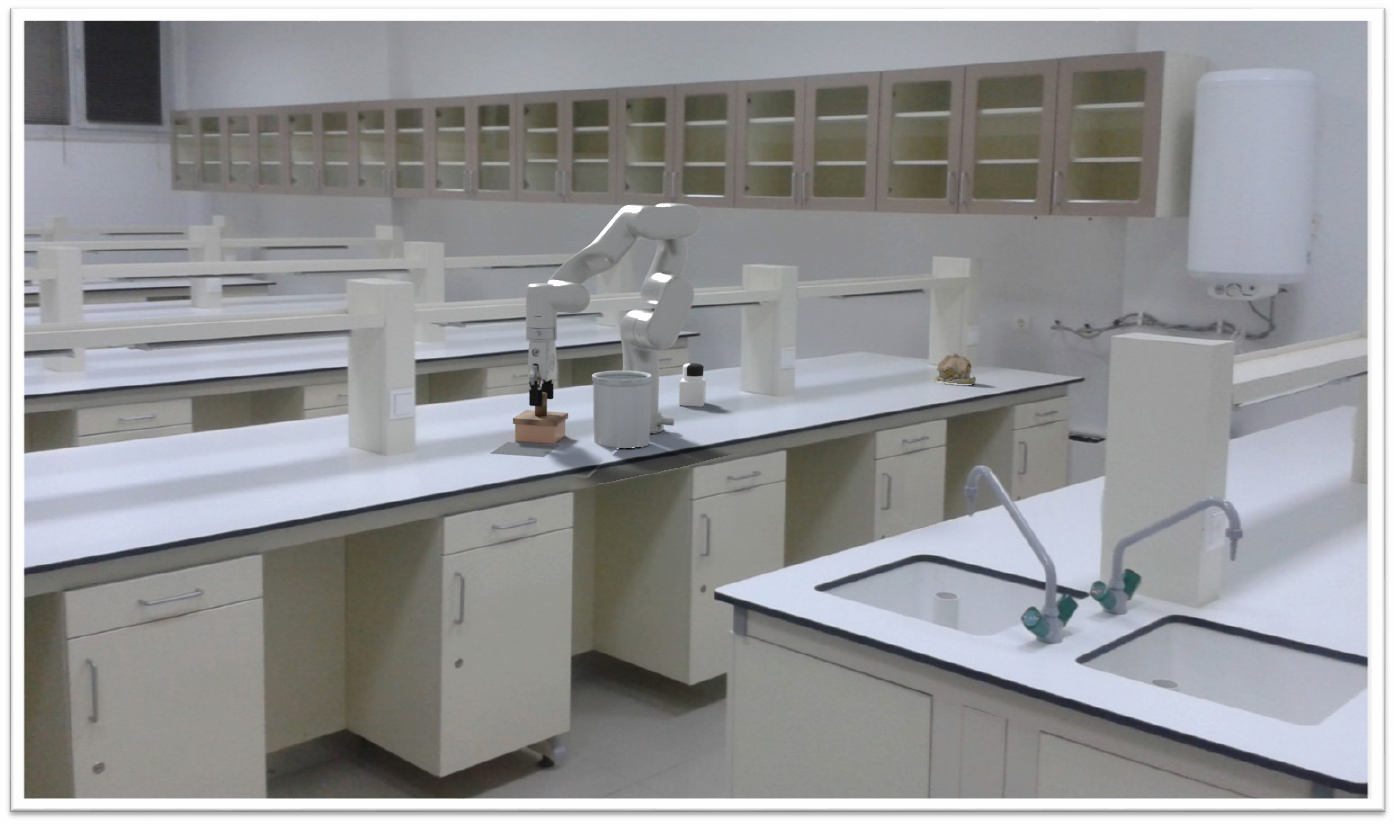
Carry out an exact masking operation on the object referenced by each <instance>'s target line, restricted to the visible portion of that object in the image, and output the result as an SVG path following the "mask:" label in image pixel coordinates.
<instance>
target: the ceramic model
mask: <svg viewBox="0 0 1394 824" xmlns="http://www.w3.org/2000/svg"><path fill="white" fill-rule="evenodd" d="M936 366H937V367H936V371H938V375H937V376H935V378H934V381H935V380H937V381H942V382H948V383H957V384H974V383H976V381H977V380H976V377H975V376H972V377H971V373H972V364H971V361H970V360H968V358H966V357H965V356H962V355H959V354H958V353H953V355H950V354H948V355H947V354H946V355H945V356H944V357H943V359H941V360H940V361H939V362H938V364H937V365H936ZM974 385H975V384H974Z"/></svg>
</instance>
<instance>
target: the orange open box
mask: <svg viewBox="0 0 1394 824" xmlns="http://www.w3.org/2000/svg"><path fill="white" fill-rule="evenodd" d="M514 436H515V437H514V441H515V442H517V443H532V444H548V445H556V443H557V442H559V441H560V440H561V439H563V438H565V437H566V420H565V421H563V422H562V423H561V424H559V425H558V426H556V427H555V426H539V425H523V424H514Z"/></svg>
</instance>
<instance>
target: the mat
mask: <svg viewBox="0 0 1394 824" xmlns="http://www.w3.org/2000/svg"><path fill="white" fill-rule="evenodd" d="M557 447H559V445H558V444H547V443H532V442H517V441H515V442H514V441H513V442H512V441H511V442H510V441H507V442H505V443H504V444H502V445H500V446H499V447H497V448H496V449H494V450H493V451H491V452H490V454H491V455H492V454H495V455H507V456H509V455H510V456H524V457H525V456H526V457H538V458H545V457H546V456H547V455H548V454H550V453H551V452H553V450H555V449H557Z"/></svg>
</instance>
